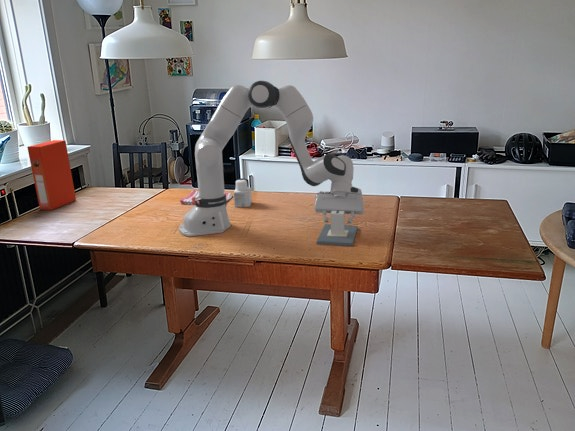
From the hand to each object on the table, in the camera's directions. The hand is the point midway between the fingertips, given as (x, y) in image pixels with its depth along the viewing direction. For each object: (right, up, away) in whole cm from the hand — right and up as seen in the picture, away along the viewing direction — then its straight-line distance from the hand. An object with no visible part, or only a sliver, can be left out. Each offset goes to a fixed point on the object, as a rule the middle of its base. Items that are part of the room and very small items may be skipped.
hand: (337, 222), depth 205 cm
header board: (0, -6, +3) cm, 6 cm away
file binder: (-139, +8, +57) cm, 150 cm away
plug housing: (0, -4, +2) cm, 5 cm away
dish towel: (-62, +10, +57) cm, 85 cm away
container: (-42, +8, +47) cm, 64 cm away
